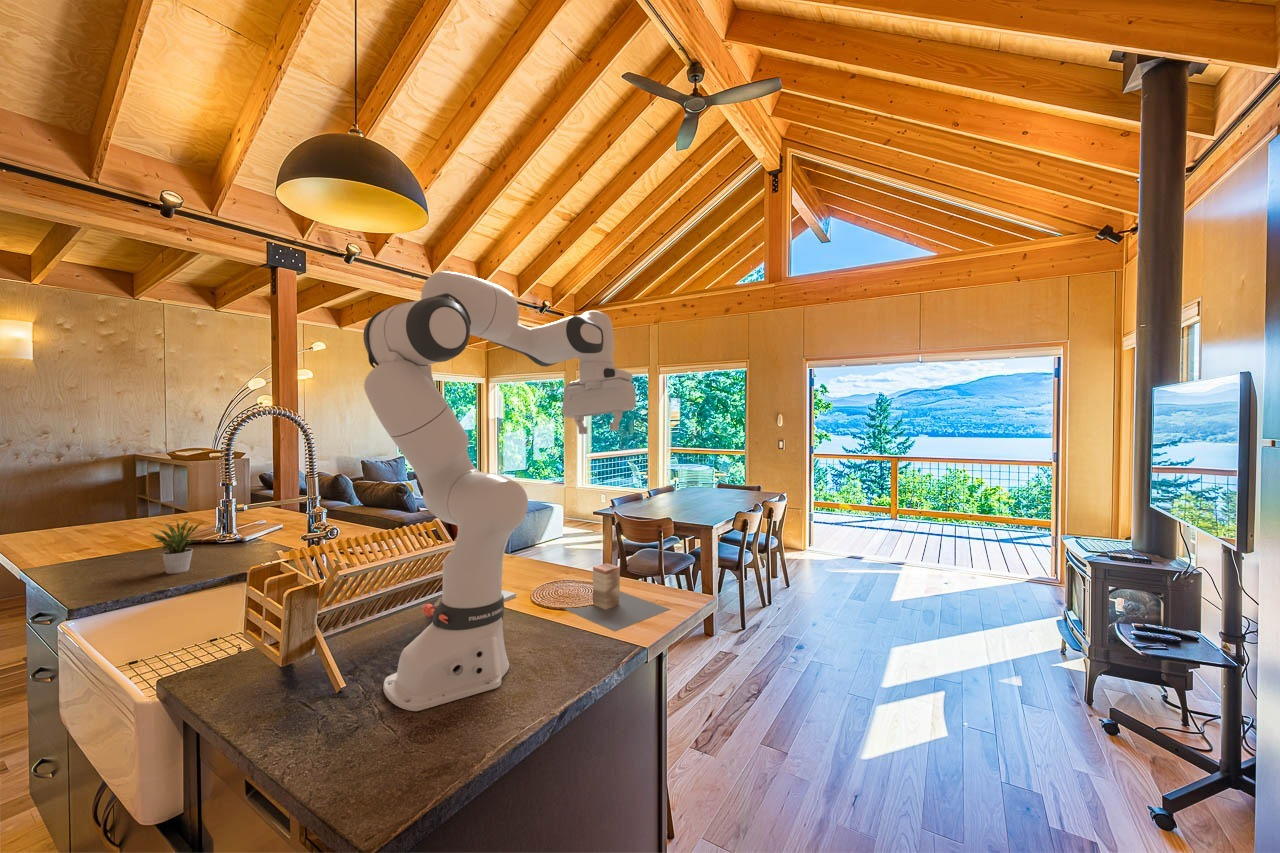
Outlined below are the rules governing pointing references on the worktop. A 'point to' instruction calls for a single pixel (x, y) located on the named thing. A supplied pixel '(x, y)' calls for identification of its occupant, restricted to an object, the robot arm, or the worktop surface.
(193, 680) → the worktop surface
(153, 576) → the worktop surface
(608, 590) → the beige brown block
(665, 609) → the rubber mat
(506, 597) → the hard drive
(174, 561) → the house plant
